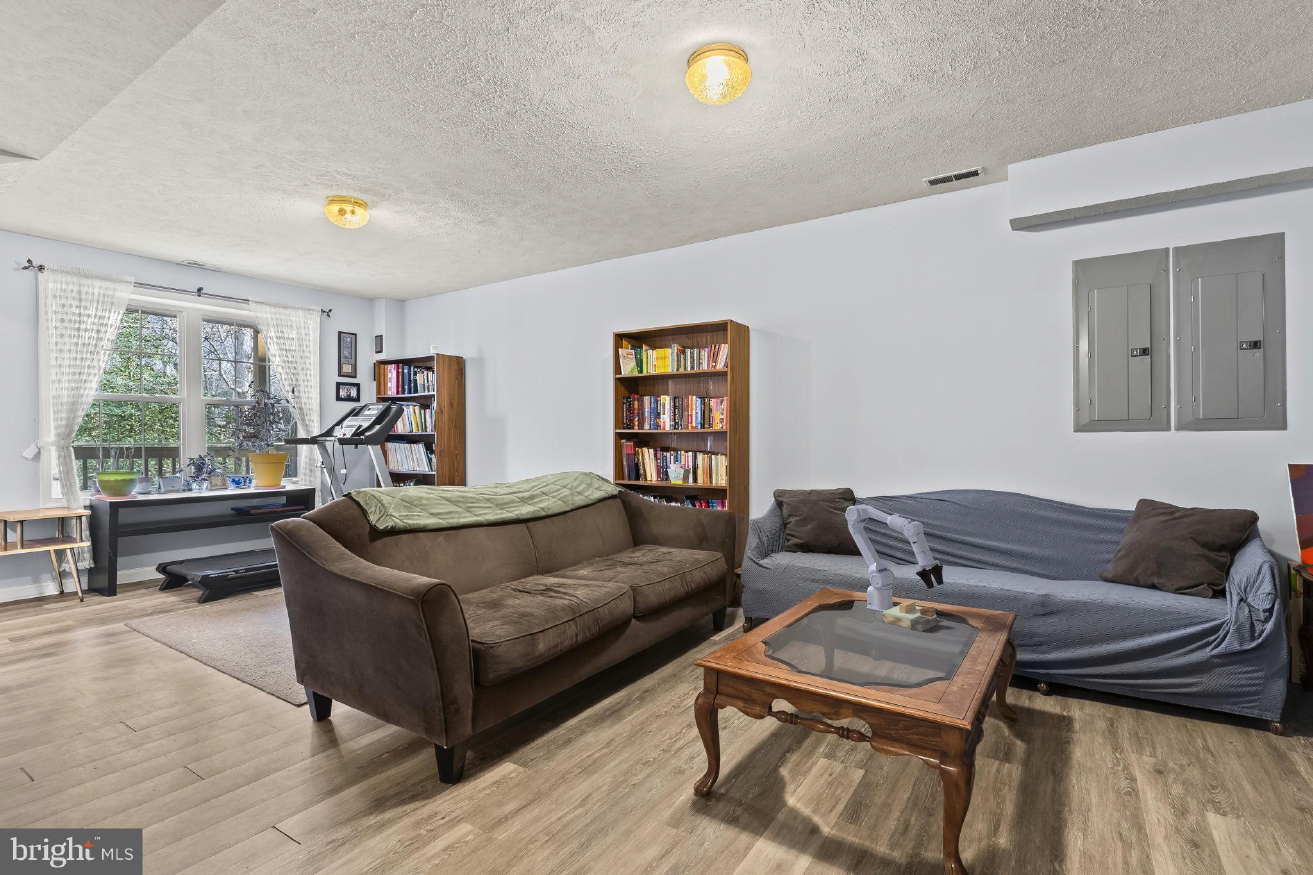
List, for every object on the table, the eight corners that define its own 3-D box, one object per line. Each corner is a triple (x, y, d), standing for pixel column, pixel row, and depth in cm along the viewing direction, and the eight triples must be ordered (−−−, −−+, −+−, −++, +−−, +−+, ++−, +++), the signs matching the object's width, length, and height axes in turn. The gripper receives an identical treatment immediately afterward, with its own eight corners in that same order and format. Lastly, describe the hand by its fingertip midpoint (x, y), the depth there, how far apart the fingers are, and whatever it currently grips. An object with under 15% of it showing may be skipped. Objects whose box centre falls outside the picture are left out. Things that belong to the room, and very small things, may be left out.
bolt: (920, 614, 236) (920, 608, 236) (925, 612, 238) (925, 606, 238) (930, 616, 233) (930, 610, 233) (935, 614, 235) (935, 608, 235)
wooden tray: (881, 622, 241) (881, 612, 241) (903, 612, 252) (903, 603, 252) (921, 631, 228) (921, 621, 228) (943, 621, 239) (943, 611, 239)
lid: (882, 616, 241) (882, 604, 241) (903, 607, 252) (903, 596, 251) (922, 625, 229) (922, 612, 229) (943, 616, 239) (943, 603, 239)
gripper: (922, 552, 237) (936, 587, 233) (940, 546, 246) (954, 581, 242) (906, 556, 242) (919, 591, 238) (924, 551, 251) (938, 585, 247)
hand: (936, 586), depth 240 cm, fingers open, 7 cm apart
